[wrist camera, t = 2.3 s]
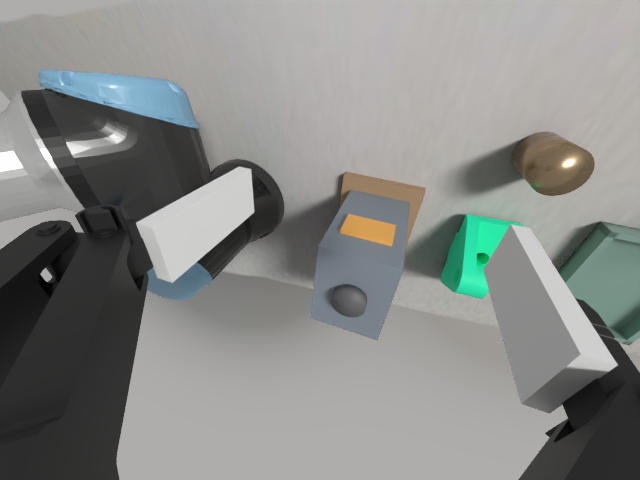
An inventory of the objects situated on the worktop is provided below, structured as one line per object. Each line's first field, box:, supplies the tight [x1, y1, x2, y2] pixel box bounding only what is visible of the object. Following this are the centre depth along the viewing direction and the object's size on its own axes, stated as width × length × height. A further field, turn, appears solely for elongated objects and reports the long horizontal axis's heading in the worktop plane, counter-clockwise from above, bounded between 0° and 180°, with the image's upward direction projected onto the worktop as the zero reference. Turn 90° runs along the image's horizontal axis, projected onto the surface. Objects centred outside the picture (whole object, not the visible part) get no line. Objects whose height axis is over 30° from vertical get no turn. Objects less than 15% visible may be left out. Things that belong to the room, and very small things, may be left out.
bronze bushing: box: [512, 132, 594, 196], centre depth 29 cm, size 5×5×7 cm
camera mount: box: [441, 214, 523, 299], centre depth 36 cm, size 12×8×10 cm, turn 178°
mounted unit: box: [311, 172, 425, 340], centre depth 36 cm, size 12×16×19 cm
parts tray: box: [558, 221, 640, 345], centre depth 36 cm, size 13×17×2 cm
